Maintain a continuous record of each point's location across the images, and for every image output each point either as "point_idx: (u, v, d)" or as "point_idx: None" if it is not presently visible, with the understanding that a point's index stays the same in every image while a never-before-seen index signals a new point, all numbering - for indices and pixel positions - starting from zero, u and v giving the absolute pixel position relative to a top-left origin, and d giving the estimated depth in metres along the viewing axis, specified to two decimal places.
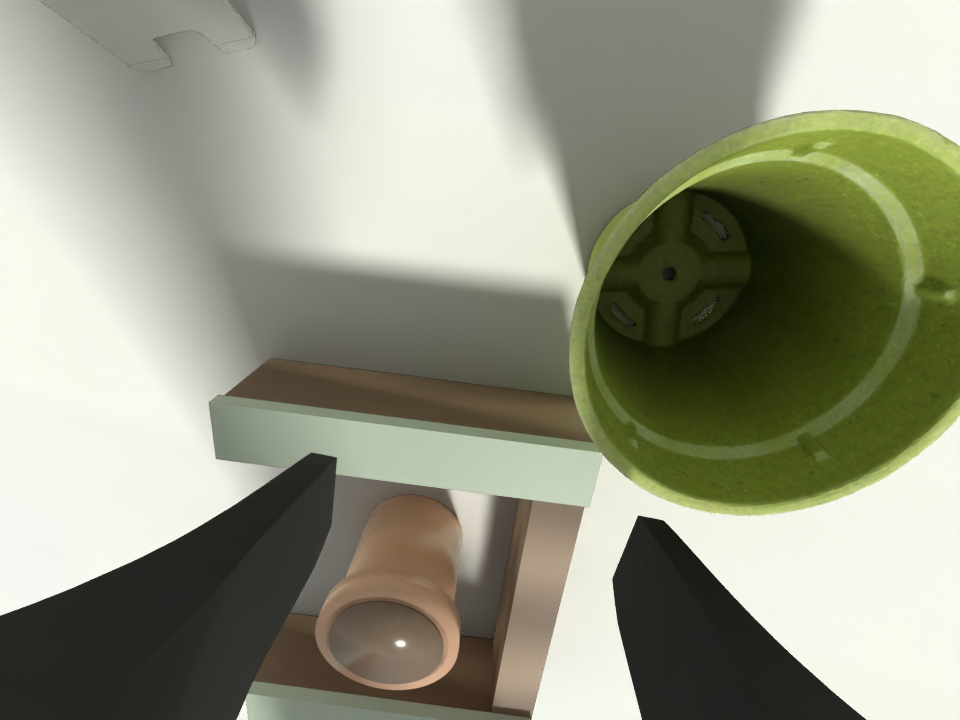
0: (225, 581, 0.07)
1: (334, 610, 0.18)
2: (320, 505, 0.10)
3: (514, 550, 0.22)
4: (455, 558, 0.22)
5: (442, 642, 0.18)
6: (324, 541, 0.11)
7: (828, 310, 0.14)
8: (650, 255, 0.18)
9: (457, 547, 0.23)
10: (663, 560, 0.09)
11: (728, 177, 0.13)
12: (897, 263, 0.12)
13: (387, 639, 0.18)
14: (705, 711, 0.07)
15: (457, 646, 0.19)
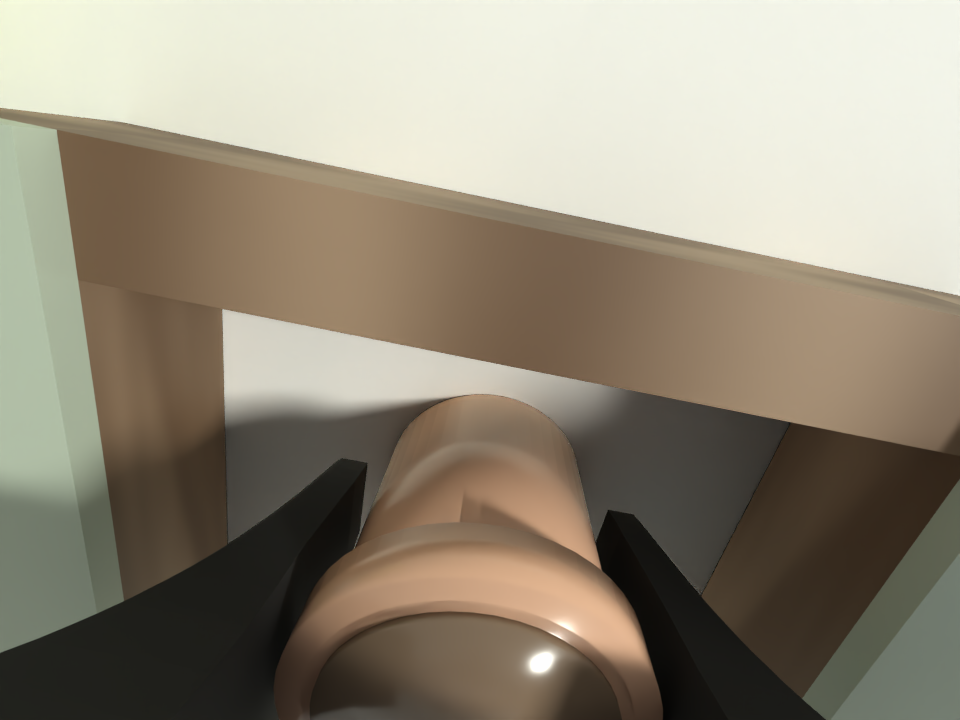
0: (274, 590, 0.07)
1: None
2: (352, 511, 0.10)
3: None
4: (453, 444, 0.10)
5: (453, 617, 0.06)
6: (353, 546, 0.11)
7: None
8: None
9: (460, 425, 0.10)
10: (628, 554, 0.09)
11: None
12: None
13: None
14: None
15: (479, 582, 0.06)
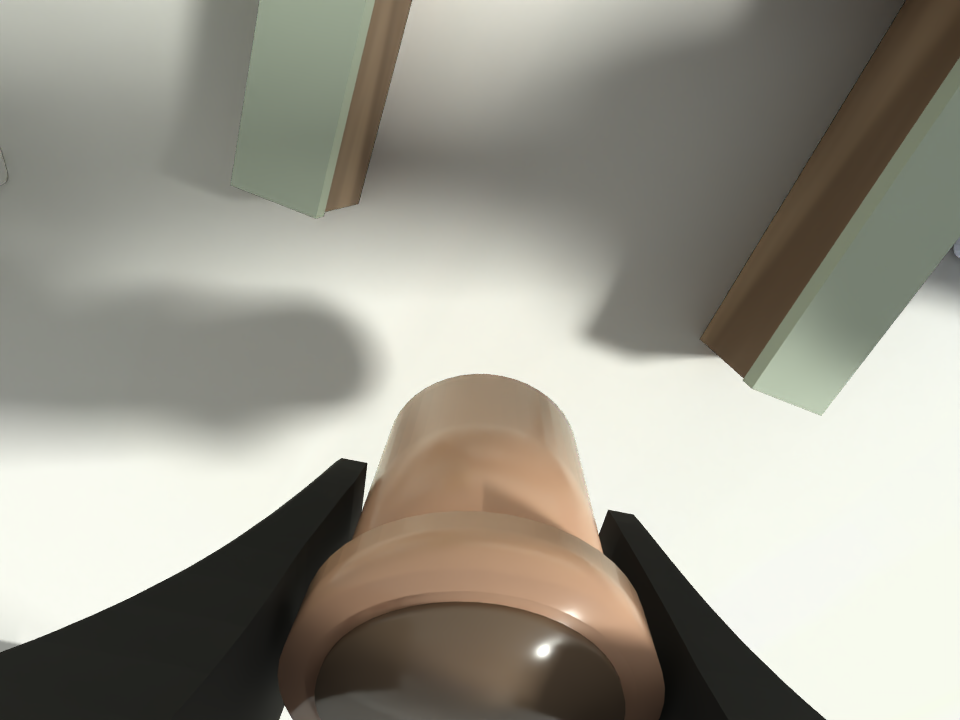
0: (274, 590, 0.07)
1: None
2: (352, 511, 0.10)
3: None
4: (452, 427, 0.09)
5: (458, 607, 0.06)
6: None
7: None
8: None
9: (458, 407, 0.10)
10: (628, 554, 0.09)
11: None
12: None
13: (442, 708, 0.07)
14: None
15: (484, 573, 0.06)
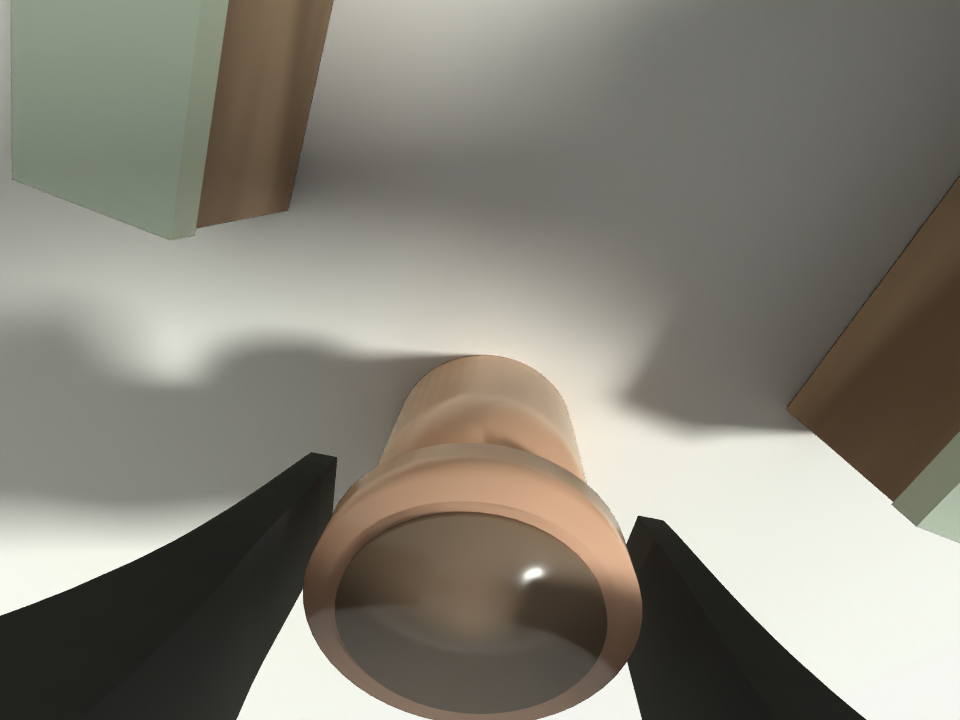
0: (225, 581, 0.07)
1: (374, 682, 0.09)
2: (320, 505, 0.10)
3: None
4: (458, 392, 0.11)
5: (461, 515, 0.07)
6: None
7: None
8: None
9: (463, 378, 0.11)
10: (663, 560, 0.09)
11: None
12: None
13: (446, 619, 0.08)
14: (705, 711, 0.07)
15: (483, 482, 0.07)
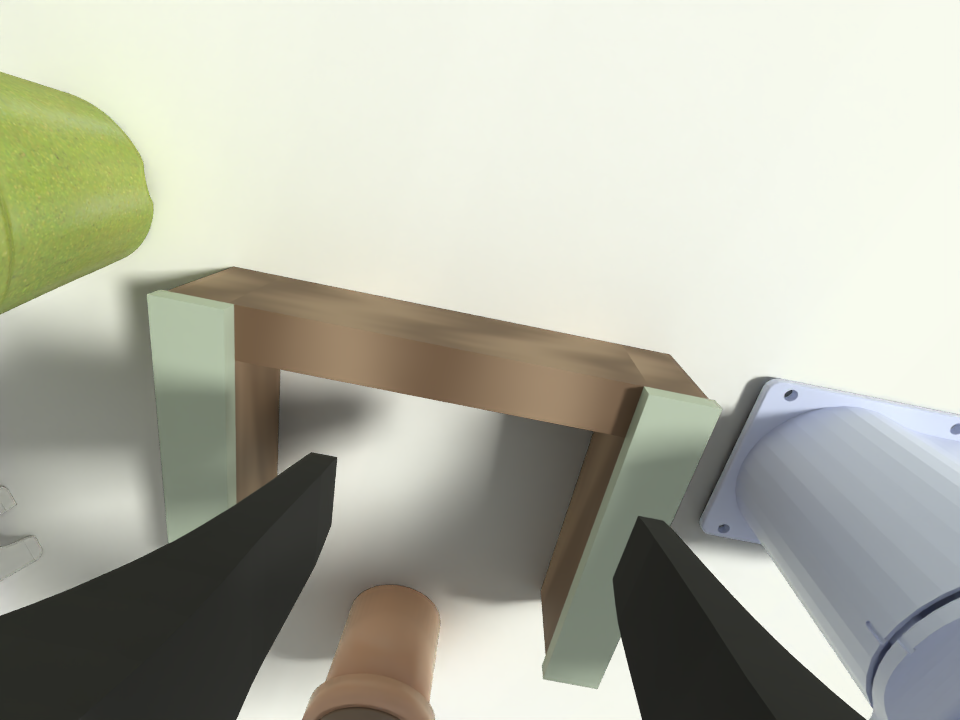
0: (225, 581, 0.07)
1: None
2: (320, 505, 0.10)
3: None
4: (363, 623, 0.23)
5: (348, 709, 0.19)
6: (324, 541, 0.11)
7: None
8: None
9: (368, 610, 0.24)
10: (663, 560, 0.09)
11: None
12: None
13: None
14: (705, 711, 0.07)
15: (352, 698, 0.19)
